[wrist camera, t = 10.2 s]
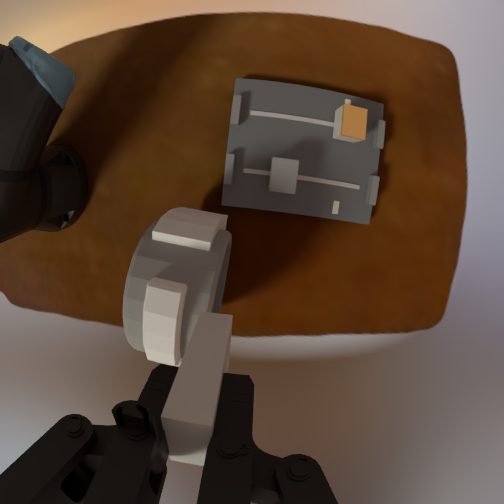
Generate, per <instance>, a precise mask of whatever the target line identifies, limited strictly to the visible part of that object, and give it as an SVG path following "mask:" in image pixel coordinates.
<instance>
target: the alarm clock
mask: <svg viewBox="0 0 504 504" xmlns="http://www.w3.org/2000/svg"><path fill="white" fill-rule="evenodd" d="M227 217H228V215H223V214H217V213H212V212H207V211H201V210H196V209H190V208H184V207H179V208H174V209H171V210H169V211H168V212H167V213H165V214H164V215H163V216H162V217H161V218H160V220H157V221H155V222H154V223H152V224H151V225H150V226H149V227H148V228H147V230H146V231H145V233H144V234H143V236H142V237H141V239H140V241H139V243H138V245H137V248H136V250H135V252H134V254H133V257H132V261H131V264H130V267H129V271H128V274H127V279H126V285H125V291H124V297H123V324H124V332H125V335H126V337H127V340H128V342H129V343H130V345H131V346H132V347H133V348H135V349H136V350H139V351H143V352H146V355H147V359H148V360H151V361H155V362H158V363H162V364H166V365H171V366H177V367H180V364H181V361H182V359H183V356H184V354H185V351H186V349H187V346H188V343H189V341H190V338H191V336H192V333H193V331H194V328H195V326H196V323H197V321H198V318H199V316H200V313H201V311H202V312H210V313H218V314H219V313H220V308H221V303H222V298H223V292H224V287H225V282H226V276H227V270H228V264H229V258H230V251H231V243H232V235H231V233H230V232H229V231H226V224H227Z"/></svg>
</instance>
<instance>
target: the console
mask: <svg viewBox="0 0 504 504" xmlns="http://www.w3.org/2000/svg"><path fill="white" fill-rule="evenodd" d="M344 104H348V105H352V106H356V107H360V108H364V109H368V111H367V124H366V135H365V140H362V141H358V142H354V143H353V142H348V141H343V140H338V139H333V130H334V120H335V111H336V110H337V109H338V108H340V107H341V106H342V105H344ZM383 108H384V104H381V103H378V102H375V101H371V100H367V99H364V98H360V97H356V96H352V95H348V94H343V93H339V92H334V91H330V90H325V89H319V88H314V87H308V86H303V85H296V84H290V83H282V82H274V81H265V80H255V79H243V78H236V81H235V89H234V96H233V104H232V112H231V120H230V128H229V137H228V145H227V154H226V163H225V173H224V183H223V193H222V203H221V205H223V206H232V207H242V208H251V209H259V210H268V211H276V212H284V213H292V214H299V215H307V216H314V217H321V218H328V219H335V220H342V221H348V222H355V223H361V224H367V225H369V223H370V217H371V212H372V206H373V205H376V199H377V193H378V186H379V179H380V177H378V176H377V172H378V164H379V155H380V149H383V145H384V134H385V121H383ZM273 157H277V158H285V159H292V160H299V166H298V174H297V182H296V190H295V194H289V193H281V192H273V191H269V189H268V187H269V179H270V170H271V162H272V158H273Z"/></svg>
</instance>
